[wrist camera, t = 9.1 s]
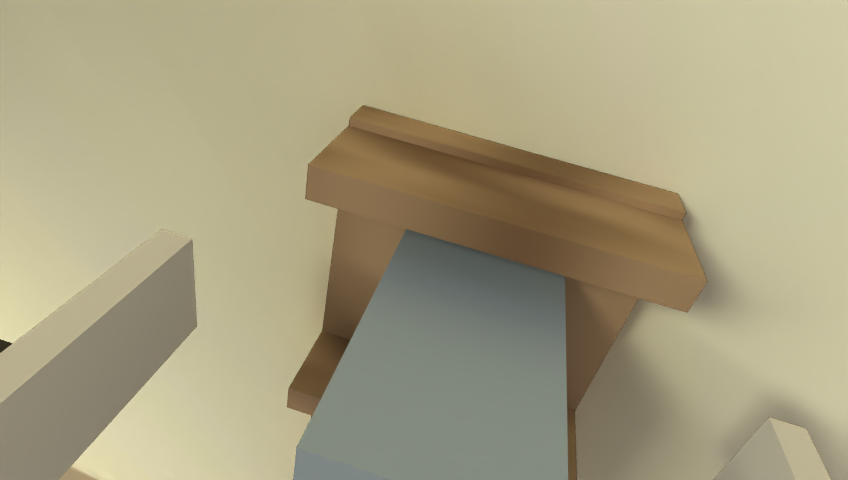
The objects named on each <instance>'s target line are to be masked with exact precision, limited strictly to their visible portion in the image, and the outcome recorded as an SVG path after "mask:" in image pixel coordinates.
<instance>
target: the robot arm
mask: <svg viewBox="0 0 848 480" xmlns="http://www.w3.org/2000/svg"><path fill="white" fill-rule="evenodd" d="M196 327H197V317H196V299H195V280H194V262H193V243H192V239H191V238H188V237H185V236H181V235H178V234H175V233H172V232H168V231H165V230H162V229H161V230H160V231H159V232H157V233H156V234H155V235H153V236H152V237H151V238H150V239H148V240H147V241H146V242H144V243H143V244H142V245H140V246H139V247H138V248H137V249H135V250H134V251H133V252H131V253H130V254H129V255H127V256H126V257H125V258H123V259H122V260H121V261H120V262H118V263H117V264H116V265H114V266H113V267H112V268H110V269H109V270H108V271H107V272H105V273H104V274H103V275H101V276H100V277H99V278H97V279H96V280H95V281H94V282H92V283H91V284H90V285H88V286H87V287H86V288H84V289H83V290H82V291H80V292H79V293H78V294H77V295H75V296H74V297H73V298H71V299H70V300H69V301H67V302H66V303H65V304H64V305H62V306H61V307H60V308H58V309H57V310H56V311H54V312H53V313H52V314H51V315H49V316H48V317H47V318H45V319H44V320H43V321H41V322H40V323H39V324H38V325H36V326H35V327H34V328H32V329H31V330H30V331H28V332H27V333H26V334H24V335H23V336H22V337H21V338H19V339H18V340H17V341H15V342H14V343H13V344H12V343H9V342H7V341H4V340H1V339H0V480H59V479H60V478H61V476H62V475H63V474H64V473H65V472H66V471H67V470H68V469H69V468H70V467H71V466H72V464H73V463H74V462H75V461H76V460H77V459H78V458H79V457H80V456H81V454H82V453H83V452H84V451H85V450H86V449H87V448H88V447H89V446H90V444H91V443H92V442H93V441H94V440H95V439H96V438H97V437H98V436H99V434H100V433H101V432H102V431H103V430H104V429H105V428H106V427H107V426H108V424H109V423H110V422H111V421H112V420H113V419H114V418H115V417H116V416H117V414H118V413H119V412H120V411H121V410H122V409H123V408H124V407H125V406H126V404H127V403H128V402H129V401H130V400H131V399H132V398H133V397H134V396H135V394H136V393H137V392H138V391H139V390H140V389H141V388H142V387H143V386H144V384H145V383H146V382H147V381H148V380H149V379H150V378H151V377H152V376H153V374H154V373H155V372H156V371H157V370H158V369H159V368H160V367H161V366H162V364H163V363H164V362H165V361H166V360H167V359H168V358H169V357H170V356H171V354H172V353H173V352H174V351H175V350H176V349H177V348H178V347H179V346H180V344H181V343H182V342H183V341H184V340H185V339H186V338H187V337H188V336H189V335H190V333H191V332H192V331H193V330H194V329H195V328H196ZM713 480H831V479H830V477H829V475H828V472H827V470H826V468H825V466H824V464H823V462H822V460H821V458H820V456H819V454H818V452H817V450H816V448H815V446H814V444H813V442H812V440H811V438H810V436H809V434H808V432H807V430H806V429H805V428H802V427H799V426H796V425H792V424H789V423H786V422H783V421H780V420H776V419H773V418H770V417H769V418H768V419H767V420H766V421H765V422H764V424H763V425H762V426H761V427H760V428H759V429H758V430H757V431H756V432H755V434H754V435H753V436H752V437H751V438H750V439H749V440H748V441H747V442H746V444H745V445H744V446H743V447H742V448H741V449H740V450H739V451H738V452H737V454H736V455H735V456H734V457H733V458H732V459H731V460H730V461H729V463H728V464H727V465H726V466H725V467H724V468H723V469H722V470H721V471H720V473H719V474H718V475H717V476H716V477H715V478H714V479H713Z"/></svg>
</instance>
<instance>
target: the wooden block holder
mask: <svg viewBox="0 0 848 480" xmlns="http://www.w3.org/2000/svg"><path fill="white" fill-rule="evenodd" d="M305 199H307V200H311V201H314V202H317V203H321V204H324V205H327V206H331V207H334V208H338V213H337V221H336V228H335V236H334V244H333V252H332V259H331V267H330V275H329V283H328V290H327V298H326V306H325V314H324V321H323V329H322V332H321V334H320V335H319V337H318V339H317V341H316V342H315V344H314V346H313V347H312V349H311V351H310V353H309V354H308V356H307V358H306V359H305V361H304V363H303V365H302V366H301V368H300V370H299V371H298V373H297V375H296V377H295V378H294V380H293V382H292V383H291V385H290V387H289V390H288V401H287V407H288V408H291V409H294V410H297V411H300V412H303V413H306V414H309V415H311V418H312V416H313V414H314V412H315V410H316V408H317V406H318V404H319V402H320V400H321V398H322V396H323V394H324V392H325V390H326V388H327V386H328V384H329V382H330V380H331V378H332V376H333V374H334V372H335V370H336V368H337V366H338V364H339V362H340V360H341V358H342V356H343V354H344V352H345V350H346V348H347V346H348V344H349V342H350V340H351V338H352V336H353V334H354V332H355V330H356V328H357V326H358V324H359V322H360V320H361V318H362V316H363V314H364V312H365V310H366V308H367V306H368V304H369V302H370V300H371V298H372V296H373V294H374V292H375V290H376V288H377V286H378V284H379V282H380V280H381V278H382V276H383V274H384V272H385V270H386V268H387V266H388V264H389V262H390V260H391V258H392V256H393V254H394V252H395V250H396V248H397V246H398V244H399V242H400V240H401V238H402V236H403V234H404V232H405V230H406V229H408V230H411V231H415V232H418V233H422V234H425V235H428V236H432V237H435V238H438V239H442V240H445V241H448V242H452V243H455V244H458V245H462V246H465V247H469V248H472V249H475V250H479V251H482V252H485V253H489V254H492V255H495V256H499V257H502V258H505V259H509V260H512V261H516V262H519V263H522V264H526V265H529V266H532V267H536V268H539V269H542V270H546V271H549V272H553V273H556V274H559V275H563V276H565V311H566V374H567V436H568V480H577V465H576V434H575V409H576V408H577V406H578V404H579V402H580V401H581V399H582V397H583V395H584V393H585V392H586V390H587V388H588V386H589V385H590V383H591V381H592V379H593V378H594V376H595V374H596V372H597V370H598V369H599V367H600V365H601V363H602V362H603V360H604V358H605V356H606V355H607V353H608V351H609V349H610V348H611V346H612V344H613V342H614V340H615V339H616V337H617V335H618V333H619V332H620V330H621V328H622V326H623V325H624V323H625V321H626V319H627V317H628V316H629V314H630V312H631V310H632V309H633V307H634V305H635V303H636V302H637V300H638V298H640V299H643V300H647V301H650V302H653V303H657V304H660V305H663V306H667V307H670V308H673V309H677V310H680V311H684V312H688V311H689V309H690V307H691V306H692V304H693V303H694V301H695V300H696V298H697V297H698V295H699V294H700V292H701V290H702V289H703V287H704V286H705V284H706V283H707V279H706V277H705V274H704V272H703V269H702V267H701V264H700V262H699V260H698V257H697V255H696V252H695V250H694V248H693V245H692V243H691V240H690V238H689V235H688V233H687V231H686V228H685V226H684V223H683V221H682V220H683V218H684V217H685V215H686V211H685V209H684V206H683V204H682V202H681V199H680V197H679V195H678V194H677V193H673V192H670V191H666V190H663V189H659V188H656V187H652V186H648V185H645V184H641V183H638V182H634V181H631V180H627V179H624V178H620V177H616V176H613V175H609V174H606V173H602V172H599V171H595V170H591V169H588V168H584V167H581V166H577V165H574V164H570V163H567V162H563V161H559V160H556V159H552V158H549V157H545V156H542V155H538V154H534V153H531V152H527V151H524V150H520V149H517V148H513V147H510V146H506V145H502V144H499V143H495V142H492V141H488V140H485V139H481V138H477V137H474V136H470V135H467V134H463V133H460V132H456V131H453V130H449V129H445V128H442V127H438V126H435V125H431V124H428V123H424V122H421V121H417V120H413V119H410V118H406V117H403V116H399V115H396V114H392V113H388V112H385V111H381V110H378V109H374V108H371V107H367V106H364V105H363V106H362V107H361V108H360V109H359V110H358V111H357V112H355V113H354V114H353V115H352V116H351V117H350V120H349V126H348V127H347V128H346V129H345V130H344V131H343V132H342V133H341V134H340V135H339V136H337V137H336V138H335V139H334V140H333V141H332V142H331V143H330V144H329V145H328V146H327V147H326V148H325V149H324V150H323V151H322V152H321V153H320V154H319V155H318V156H317V157H316V158H315V159H313V160H312V161H311V162H310V163H309V164H308V172H307V184H306V195H305Z"/></svg>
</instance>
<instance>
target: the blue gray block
mask: <svg viewBox="0 0 848 480" xmlns="http://www.w3.org/2000/svg"><path fill="white" fill-rule="evenodd" d="M293 480H568V436H567V374H566V311H565V276H563V275H559V274H556V273H553V272H549V271H546V270H542V269H539V268H536V267H532V266H529V265H526V264H522V263H519V262H516V261H512V260H509V259H505V258H502V257H499V256H495V255H492V254H489V253H485V252H482V251H479V250H475V249H472V248H469V247H465V246H462V245H458V244H455V243H452V242H448V241H445V240H442V239H438V238H435V237H432V236H428V235H425V234H422V233H418V232H415V231H411V230H408V229H406V230H405V232H404V234H403V236H402V238H401V240H400V242H399V244H398V246H397V248H396V250H395V252H394V254H393V256H392V258H391V260H390V262H389V264H388V266H387V268H386V270H385V272H384V274H383V276H382V278H381V280H380V282H379V284H378V286H377V288H376V290H375V292H374V294H373V296H372V298H371V300H370V302H369V304H368V306H367V308H366V310H365V312H364V314H363V316H362V318H361V320H360V322H359V324H358V326H357V328H356V330H355V332H354V334H353V336H352V338H351V340H350V342H349V344H348V346H347V348H346V350H345V352H344V354H343V356H342V358H341V360H340V362H339V364H338V366H337V368H336V370H335V372H334V374H333V376H332V378H331V380H330V382H329V384H328V386H327V388H326V390H325V392H324V394H323V396H322V398H321V400H320V402H319V404H318V406H317V408H316V410H315V412H314V414H313V416H312V418H311V420H310V422H309V424H308V426H307V428H306V430H305V432H304V434H303V436H302V438H301V440H300V442H299V444H298V446H297V449H296V458H295V468H294V478H293Z"/></svg>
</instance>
